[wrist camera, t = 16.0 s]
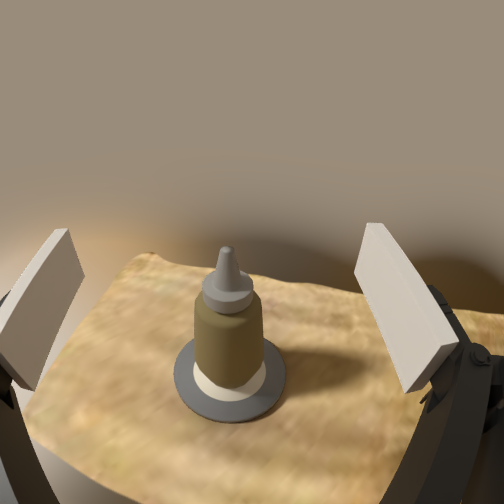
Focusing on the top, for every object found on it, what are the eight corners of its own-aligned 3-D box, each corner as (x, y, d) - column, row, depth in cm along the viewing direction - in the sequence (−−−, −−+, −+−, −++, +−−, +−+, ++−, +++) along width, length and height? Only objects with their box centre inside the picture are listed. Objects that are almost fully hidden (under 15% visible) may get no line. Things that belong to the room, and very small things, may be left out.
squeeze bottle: (184, 363, 36) (162, 244, 25) (235, 335, 40) (236, 217, 30) (222, 409, 31) (213, 297, 20) (275, 374, 35) (296, 256, 25)
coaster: (302, 404, 32) (303, 401, 32) (186, 434, 28) (185, 430, 28) (263, 324, 43) (263, 319, 43) (167, 342, 39) (166, 338, 39)
